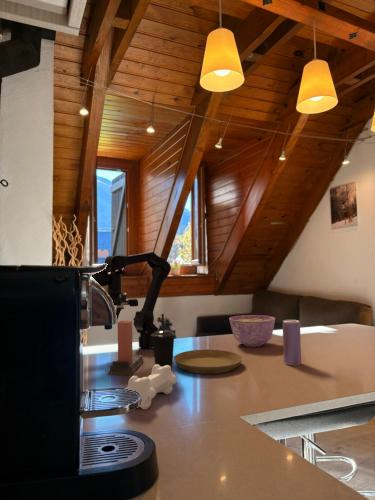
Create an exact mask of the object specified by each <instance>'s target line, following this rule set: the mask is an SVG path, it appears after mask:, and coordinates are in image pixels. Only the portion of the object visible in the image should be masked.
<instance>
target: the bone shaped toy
mask: <svg viewBox="0 0 375 500" xmlns="http://www.w3.org/2000/svg"><path fill="white" fill-rule="evenodd" d="M177 380H178V379H177V376H176V375H175V374H174V373H173V370H172V371H171V366H169V365H165V366H163V367H160V365H159V364H156V365H155V364H154V365H153V366H152V368H151V374H150V375H148V376H143V377H139V376H138V375H133V376H132V375H131V377H130V378H129V379H128V383H127V387H125V388H124V390H125V389H128V390H132V391H136V392H138V393H139V394H141V396H142V402H141V405H140V406H139V407H138V408H141V409H142V410H147V409H150V406H151V405H152V399H154V398H155V397H156V395H157V394H160V393H164V394H165V395H169V394H171V393H172V391H173V386H174V384H176V383H177V382H178V381H177Z"/></svg>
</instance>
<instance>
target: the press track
mask: <svg viewBox="0 0 375 500" xmlns="http://www.w3.org/2000/svg"><path fill="white" fill-rule="evenodd" d="M133 360H134V362H133V363H131V365H130V366H129V361H118V359H117V360H115V361H114V360H113V361H112V363H111V364H112V365H110V366H109V371H108V372H107V375H108V376H109V375H110V376H111V375H113V376H117V375H119V376H123V375H124V376H132V375H134V373H135V372H136V371H137V370H138V369H139V368H140V367H141V365H142V364H143V363H144V359H143V355H141V354H140V355H139V356H137V357H136V358H133Z"/></svg>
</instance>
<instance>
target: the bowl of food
mask: <svg viewBox="0 0 375 500" xmlns="http://www.w3.org/2000/svg"><path fill="white" fill-rule="evenodd" d="M228 319H229V324H230V329H231V332H232V335H233V338H234V339H235V340H236V341H237V342H239V343H240V344H243V346H245V347H253V348H255V347H256V346H257V347H261V345H262V346H263V345H264V344H266V343H267V342H269V341H270V340H271V338H273V337H272V336H273V332H274V327H275V322H276V317H274V316H270V315H261V314H260V315H259V314H244V315H234V316H230V317H229V318H228ZM257 347H256V348H257Z"/></svg>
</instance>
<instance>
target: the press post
mask: <svg viewBox="0 0 375 500" xmlns="http://www.w3.org/2000/svg"><path fill="white" fill-rule="evenodd" d="M133 353H134V351H133V321H132V320H120V321H117V360H118V361H129V366H130V365H131V363H133V362H134V360H133V359H134V358H133V356H134V355H133Z"/></svg>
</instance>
